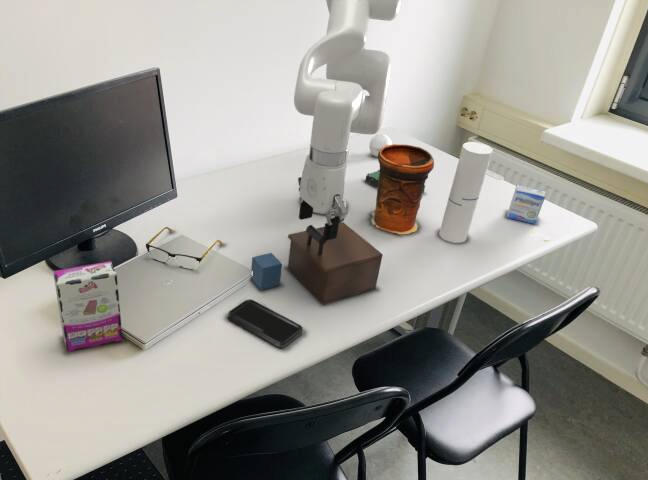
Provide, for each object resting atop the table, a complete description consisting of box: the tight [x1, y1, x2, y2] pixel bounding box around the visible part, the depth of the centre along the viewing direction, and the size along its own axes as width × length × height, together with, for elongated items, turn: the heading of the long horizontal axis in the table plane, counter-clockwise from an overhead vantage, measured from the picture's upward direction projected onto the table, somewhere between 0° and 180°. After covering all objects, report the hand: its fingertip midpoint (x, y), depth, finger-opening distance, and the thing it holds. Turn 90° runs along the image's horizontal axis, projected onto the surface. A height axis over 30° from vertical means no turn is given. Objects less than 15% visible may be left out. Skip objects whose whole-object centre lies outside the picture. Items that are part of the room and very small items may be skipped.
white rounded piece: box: [368, 133, 393, 158], centre depth 211 cm, size 10×7×7 cm
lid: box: [287, 221, 383, 272], centre depth 147 cm, size 16×16×6 cm
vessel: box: [370, 143, 435, 236], centre depth 172 cm, size 14×14×20 cm
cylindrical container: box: [438, 141, 494, 244], centre depth 167 cm, size 7×7×25 cm
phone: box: [227, 299, 303, 349], centre depth 138 cm, size 8×1×15 cm
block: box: [250, 252, 283, 291], centre depth 150 cm, size 5×5×6 cm
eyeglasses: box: [145, 226, 224, 263], centre depth 158 cm, size 14×14×4 cm
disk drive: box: [365, 169, 426, 194], centre depth 195 cm, size 10×3×15 cm
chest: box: [287, 240, 383, 305], centre depth 152 cm, size 15×16×9 cm
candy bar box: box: [52, 261, 123, 353], centre depth 126 cm, size 11×5×16 cm, turn 114°
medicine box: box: [506, 184, 547, 225], centre depth 183 cm, size 8×4×9 cm, turn 68°
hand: (317, 228), depth 142 cm, fingers open, 9 cm apart
